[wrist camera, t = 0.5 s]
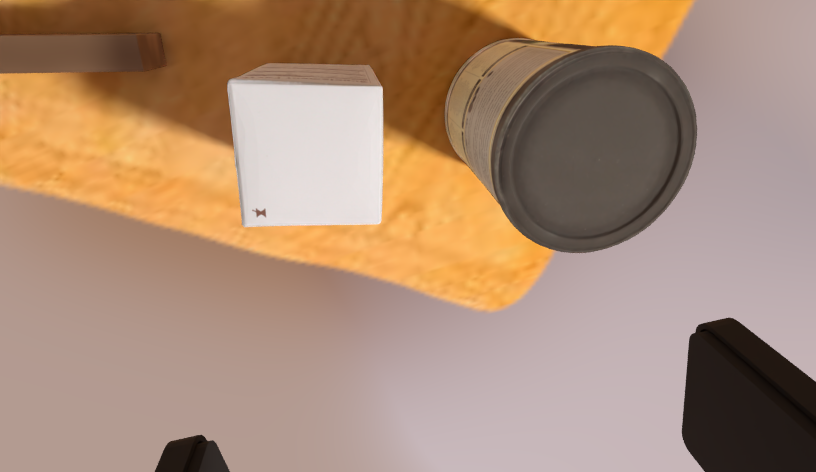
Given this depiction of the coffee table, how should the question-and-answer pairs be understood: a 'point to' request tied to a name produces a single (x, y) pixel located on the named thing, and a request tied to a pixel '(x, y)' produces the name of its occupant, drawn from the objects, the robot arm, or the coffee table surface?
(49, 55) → the walnut fence
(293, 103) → the supplement box
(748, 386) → the robot arm
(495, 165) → the coffee can
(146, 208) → the coffee table surface
